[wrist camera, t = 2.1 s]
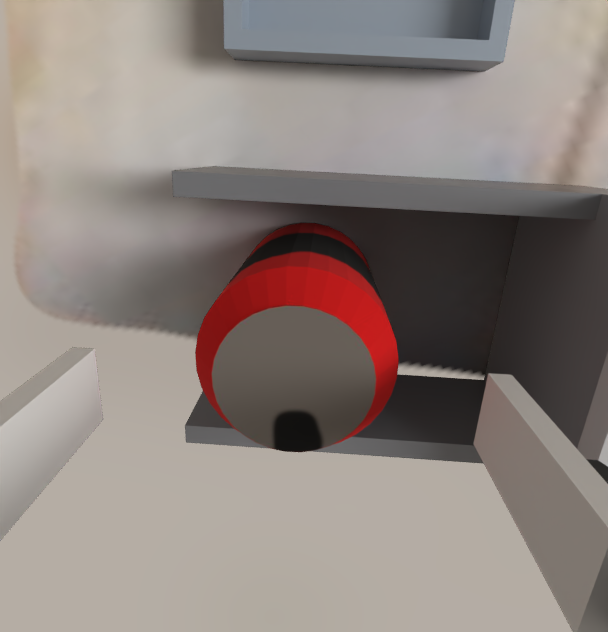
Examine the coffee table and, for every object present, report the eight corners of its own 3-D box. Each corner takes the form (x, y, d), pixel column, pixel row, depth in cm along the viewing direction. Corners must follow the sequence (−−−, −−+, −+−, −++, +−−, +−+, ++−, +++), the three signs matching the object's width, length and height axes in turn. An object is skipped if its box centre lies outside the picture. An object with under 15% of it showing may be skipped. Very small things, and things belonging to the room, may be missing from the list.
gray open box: (213, 166, 24) (116, 177, 13) (582, 185, 24) (814, 215, 12) (218, 376, 29) (148, 519, 18) (528, 397, 28) (662, 558, 17)
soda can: (252, 347, 28) (202, 476, 17) (236, 226, 25) (165, 284, 14) (372, 340, 27) (405, 469, 16) (369, 216, 25) (404, 268, 14)
